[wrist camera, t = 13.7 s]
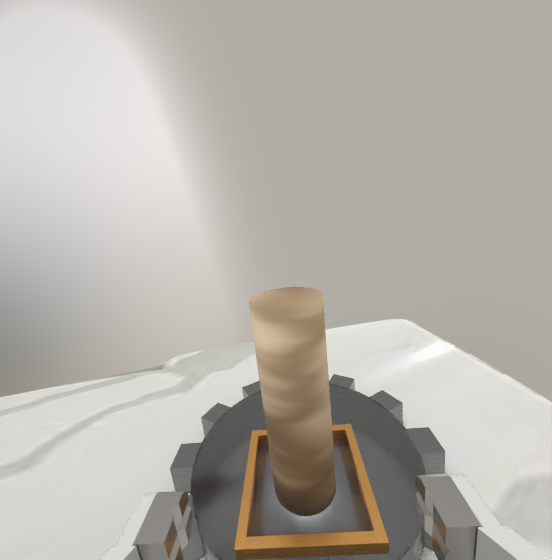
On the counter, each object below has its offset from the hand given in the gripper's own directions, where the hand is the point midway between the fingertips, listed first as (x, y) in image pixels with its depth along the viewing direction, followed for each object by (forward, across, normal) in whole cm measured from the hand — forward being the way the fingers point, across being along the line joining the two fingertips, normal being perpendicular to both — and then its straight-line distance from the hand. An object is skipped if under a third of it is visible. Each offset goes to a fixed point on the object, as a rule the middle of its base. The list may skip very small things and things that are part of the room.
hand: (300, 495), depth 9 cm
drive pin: (+8, 0, +9) cm, 12 cm away
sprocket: (+11, 0, +12) cm, 16 cm away
